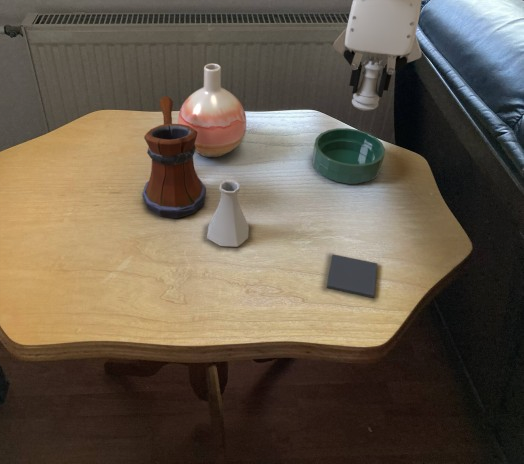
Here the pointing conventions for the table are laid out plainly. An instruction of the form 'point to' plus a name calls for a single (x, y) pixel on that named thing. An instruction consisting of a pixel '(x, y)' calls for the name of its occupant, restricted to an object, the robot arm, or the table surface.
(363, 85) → the rook chess piece
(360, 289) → the mat
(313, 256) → the table surface
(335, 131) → the bowl
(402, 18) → the robot arm
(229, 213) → the flask
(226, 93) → the vase
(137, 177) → the table surface
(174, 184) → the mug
